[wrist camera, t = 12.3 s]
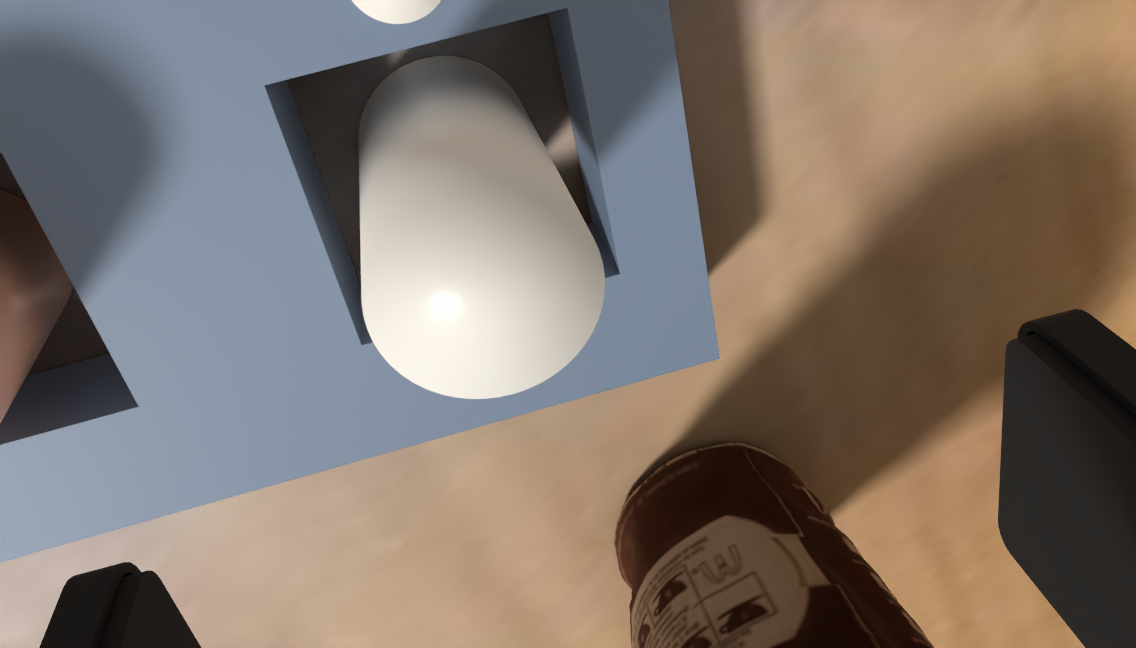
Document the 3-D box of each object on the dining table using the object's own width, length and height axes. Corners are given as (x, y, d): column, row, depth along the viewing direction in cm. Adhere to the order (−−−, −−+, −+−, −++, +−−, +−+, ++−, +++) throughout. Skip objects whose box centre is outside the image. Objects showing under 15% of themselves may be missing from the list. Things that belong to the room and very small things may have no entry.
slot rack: (604, -192, 20) (644, -188, 17) (683, 301, 26) (722, 362, 23) (-443, 63, 18) (-584, 111, 16) (-98, 519, 25) (-154, 611, 22)
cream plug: (507, 36, 22) (579, 151, 15) (545, 196, 24) (623, 362, 17) (334, 81, 21) (326, 219, 15) (388, 238, 23) (402, 425, 17)
